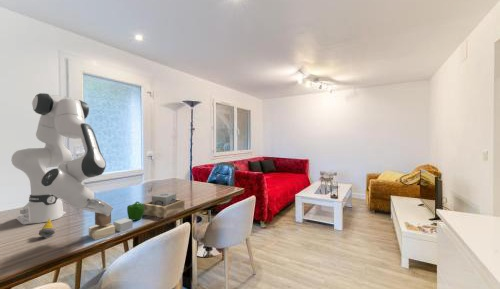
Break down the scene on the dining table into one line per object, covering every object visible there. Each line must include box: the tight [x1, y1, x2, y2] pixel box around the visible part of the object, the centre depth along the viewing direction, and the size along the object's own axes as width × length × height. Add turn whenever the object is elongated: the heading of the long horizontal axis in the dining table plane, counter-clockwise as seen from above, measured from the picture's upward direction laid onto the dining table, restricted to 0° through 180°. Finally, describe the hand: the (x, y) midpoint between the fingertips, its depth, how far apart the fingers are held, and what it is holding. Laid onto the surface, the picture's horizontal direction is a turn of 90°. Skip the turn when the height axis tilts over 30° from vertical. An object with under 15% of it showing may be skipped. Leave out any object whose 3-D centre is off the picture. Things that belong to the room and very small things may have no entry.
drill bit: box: [38, 219, 56, 240], centre depth 101 cm, size 5×5×10 cm
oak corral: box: [141, 198, 186, 219], centre depth 136 cm, size 17×17×6 cm
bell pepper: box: [126, 201, 144, 221], centre depth 123 cm, size 8×8×10 cm
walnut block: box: [94, 212, 112, 226], centre depth 104 cm, size 4×4×8 cm
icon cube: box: [151, 191, 177, 206], centre depth 138 cm, size 10×10×10 cm
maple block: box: [88, 223, 116, 241], centre depth 103 cm, size 8×8×4 cm
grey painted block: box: [113, 217, 134, 233], centre depth 111 cm, size 6×6×4 cm
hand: (104, 213), depth 104 cm, fingers closed on walnut block, 4 cm apart
